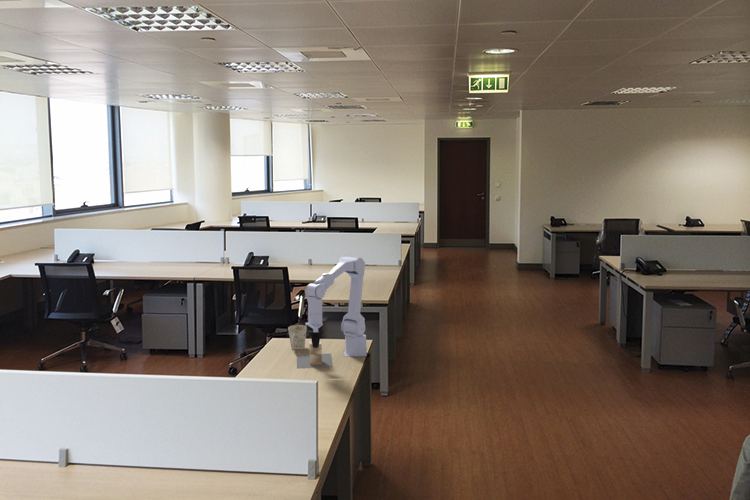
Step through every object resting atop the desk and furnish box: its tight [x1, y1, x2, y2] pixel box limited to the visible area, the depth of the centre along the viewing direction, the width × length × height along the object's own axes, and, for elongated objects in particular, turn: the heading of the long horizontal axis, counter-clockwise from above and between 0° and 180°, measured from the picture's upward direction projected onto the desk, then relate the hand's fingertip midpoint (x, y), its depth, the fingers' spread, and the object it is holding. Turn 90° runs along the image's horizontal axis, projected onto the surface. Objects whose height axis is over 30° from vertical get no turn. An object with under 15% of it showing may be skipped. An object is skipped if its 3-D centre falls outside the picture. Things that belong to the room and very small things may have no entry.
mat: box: [296, 353, 334, 369], centre depth 276 cm, size 15×18×1 cm
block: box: [308, 340, 323, 365], centre depth 272 cm, size 5×5×9 cm
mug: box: [287, 324, 308, 351], centre depth 292 cm, size 8×13×10 cm, turn 174°
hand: (315, 344), depth 264 cm, fingers open, 7 cm apart
